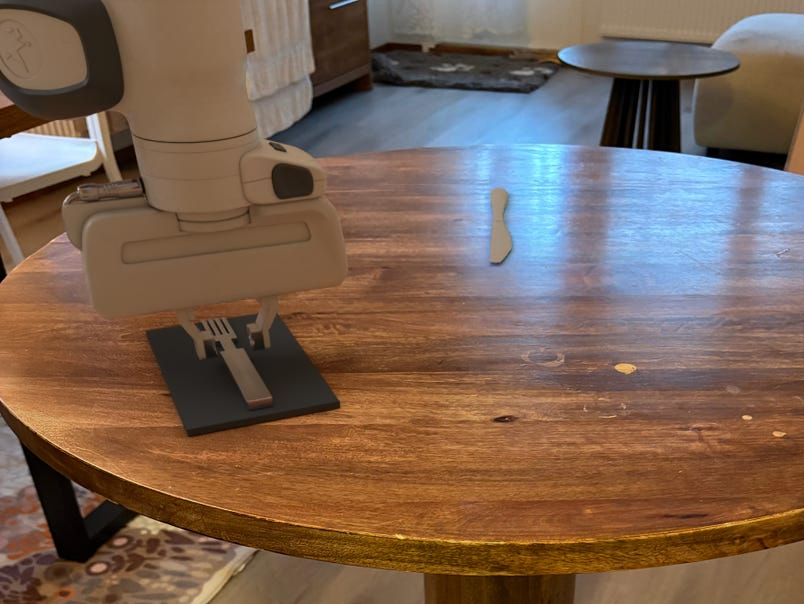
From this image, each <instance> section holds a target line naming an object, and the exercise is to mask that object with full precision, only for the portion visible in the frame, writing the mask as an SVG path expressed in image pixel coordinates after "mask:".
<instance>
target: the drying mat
mask: <svg viewBox="0 0 804 604" xmlns="http://www.w3.org/2000/svg"><path fill="white" fill-rule="evenodd" d="M258 314H259V312H258V313H252V314H245V315H238V316H232V317H225V318H226V319H227V321H228V323H229V324H230V326H231V328H232V330H233V331H234V333H235V335H236V336H237V339H238V343H233V344H234V345H235V347H236V349H240V348H244V350H245V352H246V353H247V355H248V357H249V359H250V360H251V362H252V364H253V365H254V367H255V369H256V371H257V372H258V374H259V376H260V377H261V379H262V381H263V382H264V384H265V386H266V388H267V389H268V391H269V393H270V394H271V396H272V398H273V404H274V405H273V406H272V407H267V408H261V409H256V410H250V411H249V410H248V408H247V406H246V405H245V403H244V401H243V399H242V397H241V395H240V393H239V391H238V390H237V388H236V386H235V384H234V382H233V380H232V378H231V376H230V375H229V373H228V371H227V369H226V367H225V365H224V363H223V361H222V359H221V354H220V352H221V351H223V350H222V348H221V346H216V347H215V348H216V350H217V355H218V357H213V358H208V359H203V360H200V359H199V357H198V355H197V352H196V348H195V343H194V339H193V338H192V337H191V336H190V335H189V334H188V333H187V331H186V330H185V329H184V328H183V327H182V326H181V325H180V324H178V325H173V326H167V327H166V326H165V327H160V328H153V329H146V330H145V331H144V333H145V336H146V339H147V341H148V344H149V346H150V349H151V351H152V352H153V357H154V358H155V361H156V363H157V365H158V368H159V370H160V372H161V375H162V377H163V380H164V382H165V384H166V387H167V390H168V392H169V395H170V397H171V399H172V402H173V404H174V406H175V408H176V411H177V414H178V416H179V418H180V421H181V423H182V426H183V428H184V430H185V433H186V435H187V437H193V436H197V435H204V434H208V433H213V432H219V431H224V430H230V429H235V428H241V427H245V426H251V425H255V424H256V425H257V424H262V423H266V422H271V421H277V420H282V419H287V418H293V417H298V416H303V415H308V414H313V413H319V412H324V411H329V410H335V409H340V408H341V401H340V400H339V397H338V396H337V395H336V394H335V392H334V391H333V389H332V388H331V386H330V385H329V384H328V382H327V380H326V379H324V377H323V375H322V374H321V372H320V371H319V369H318V368H317V367H316V366H315V365H316V364H314V362H313V361H312V360H311V359H310V357H309V356H308V354H307V352H306V351H305V349H304V348H303V347H302V345H301V344H300V342H299V341H298V340H297V339H296V337H295V336H294V334H293V333H292V332H291V330H290V328H288V326H287V325H286V323H285V322H284V321H283V319H282V318H281V316H280V315H279V313H278V312H277V313H276V316H275V318H274V320H273V323H272V325H271V327H270V329H268V331H269V338H270V344H271V348H269V349H263V350H257V351H253V350H252V348H251V346H250V343H249V339H248V337H249V334H248V332H247V326H246V324H251V323H256V319H257V317H258ZM212 320H213V322H214V324H215V320H214V319H212ZM219 320H220V321H221V318H219ZM206 322H207V324H208V320H206ZM193 323H194V324H195V326H196V327H197V328H198V329H199V330H200V331H205V330H204V328H203V326H202V323H201V321H199V322H193ZM221 323H222V321H221ZM215 325H216V324H215ZM222 325H223V324H222ZM208 326H209V324H208ZM216 327H217V326H216ZM223 327H224V325H223ZM209 328H210V326H209ZM224 328H225V327H224ZM217 329H218V327H217ZM210 330H211V328H210ZM225 330H226V329H225ZM211 331H212V330H211ZM218 331H219V329H218ZM226 332H227V331H226ZM212 333H213V332H212ZM219 333H220V331H219ZM220 334H221V333H220ZM227 334H228V332H227ZM213 335H214V333H213ZM214 336H215V335H214Z"/></svg>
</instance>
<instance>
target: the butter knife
mask: <svg viewBox="0 0 804 604" xmlns="http://www.w3.org/2000/svg"><path fill="white" fill-rule="evenodd" d="M489 195H490V196H489V200H490V205H491V211H492V223H491V224H492V225H491V231H490V240H489V241H490V242H489V247H490V250H489V252H490V254H489V262H490V263H492V264H499V263H501V262H502V261H503V260H504V259H505V258H506V257H507V256H508V254H509V253H510V251H511V250H512V248H513V246H512V245H513V244H512V239H511V238H512V237H511V234H510V232H509V230H508V228H507V226H506V223H505V221H504V220H505V219H504V211H505V208H506V206H507V204H508V199H509V193H508V191H507V190H506V188H502V187H494V188H492V189H491V190H490V193H489Z"/></svg>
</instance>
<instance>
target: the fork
mask: <svg viewBox="0 0 804 604" xmlns="http://www.w3.org/2000/svg"><path fill="white" fill-rule="evenodd" d="M226 318H227V317H225V316H222V317H220V318H219V317H216V318H214V319H212V318H208V319H207V320H206V319H202V320H200V322H201V323H202V326H203V328H204V330H205V331H207V330H210V328H211V330H212V331H211V330H210V331H211V333H212V332H213V333H214V335H215V336H214V335H213V333H212V335H213V336H214V339H215V344H216V346H221V348H222V350H223V351H221V352H220V354H221V359H222V361H223V363H224V365H225V367H226V369H227V371H228V373H229V375H230V376H231V378H232V380H233V382H234V384H235V386H236V388H237V390H238V391H239V393H240V395H241V397H242V399H243V401H244V403H245V405H246V406H247V408H248V410H249V411H250V410H256V409H261V408H267V407H272V406H273V405H274V404H273V398H272V396H271V394H270V393H269V391H268V389H267V388H266V386H265V384H264V382H263V381H262V379H261V377H260V376H259V374H258V372H257V371H256V369H255V367H254V365H253V364H252V362H251V360H250V359H249V357H248V355H247V353H246V352H245V350H244V348H240V349H236V347H235V345H234V344H233V343H238V339H237V336H236V335H235V333H234V331H233V330H232V328H231V326H230V324H229V323H228V321H227V319H226ZM219 319H221V321H222V323H221V321H220V320H219ZM213 320H215V324H216V325H215V324H214V322H213ZM206 321H208V324H209V326H210V328H209V326H208V324H207V322H206ZM222 324H223V325H224V327H225V328H224V327H223V325H222ZM216 326H217V327H218V329H219V331H220V333H221V334H220V333H219V331H218V329H217V327H216ZM225 329H226V330H225ZM226 331H227V332H228V334H227V332H226Z"/></svg>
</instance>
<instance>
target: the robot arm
mask: <svg viewBox="0 0 804 604" xmlns="http://www.w3.org/2000/svg"><path fill="white" fill-rule="evenodd" d="M241 10H242V9H241V4H240V0H0V92H1V93H2V94H3V95H4V96H5V97H6V98H7V99H8V100H9V102H12V103H13V104H14V105H15V106H16V107H18V108H19V109H21V110H22V111H23V112H25V113H27V114H29V115H31V116H33V117H34V118H38V119H41V120H45V121H64V122H65V121H66V122H69V121H70V122H71V121H77V120H78V121H79V120H82V119H85V118H87V117H91V116H93V115H97V114H99V113H103V112H117V113H119V114H122V115H123V116H124V117H125V119H126V121H127V123H128V125H129V129H130V133H131V138H132V143H133V148H134V152H135V156H136V157H135V158H136V161H137V166H138V171H139V175H140V176H139V177H137V178H129V179H121V180H115V181H111V182H107V183H96V182H91V183H90V182H89V183H84V184H80V185H78V186H76V189H77V190H75V191H73V192H71V193H70V194H68V195H67V196H66V197H65V198H64V200H63V201H62V205H61V211H60V213H61V219H62V222H63V226H64V229H65V233H66V236H67V238H68V240H69V242H70V243H71V245H72V246H74V247H75V248H76V249H77V250H78V251H79V252H80V259H81V265H82V271H83V279H84V282H85V286H86V291H87V295H88V298H89V303H90V305H91V308H92V309H93V311H94V312H95V313H97V314H98V315H99V316H100V317H102V318H103V319H105V320H108V321H112V320H119V319H125V318H132V317H138V316H144V315H152V314H159V313H166V312H172V311H173V314H174V316H175V318H176V320H177V322H178V325H181V326H182V327H183V328H184V329H185V330H186V331H187V333H188V334H189V335H190V336H191V337H192V338H193V339H194V343H195V348H196V352H197V355H198V357H199V359H200V360H203V359H208V358H213V357H218V355H217V350H216V348H215V347H216V344H215V339H214V336H213V335H212V333H211V331H210V330H207V331H200V330H199V329H198V328H197V327H196V326H195V324H194V323H195V322H193V321H196V319H197V317H196V311H195V308H199V307H200V308H201V307H206V306H214V305H221V304H227V303H234V302H240V301H241V302H242V301H248V300H253V299H255V300H256V302H257V303H258V305H259V306H260V309H259V312H258V313H259V314H258V317H257V319H256V323H251V324H246V326H247V332H248V334H249V337H248V339H249V343H250V346H251V348H252V350H253V351H257V350H263V349H269V348H271V344H270V338H269V331H268V329H270V327H271V325H272V323H273V320H274V318H275V316H276V313H278V311H279V309H280V307H279V300H278V296H282V295H289V294H294V293H302V292H309V291H315V290H322V289H323V290H324V289H328V288H336V287H340V286H341V285H342V284H343V283H344V281H345V279H346V277H347V275H348V273H349V263H348V255H347V247H346V242H345V236H344V232H343V228H342V224H341V219H340V217H339V214H338V212H337V209H336V207H335V205H334V204H332V202H331V201H330V200H329V199H328V198H327V197H326V196H325V194H326V192H327V188H328V180H327V174H326V171H325V169H324V168H323V166H322V165H321V164H320V163H319V161H318V160H317V159H316V158H314V157H313V156H312V155H311V154H309V153H308V152H306V151H305V150H303V149H301V148H299V147H296V146H293V145H291V144H286V143H281V142H277V141H273V140H270V139H265V138H261V137H259V130H258V129H259V128H258V122H257V118H256V114H255V111H254V109H253V107H252V104H251V102H250V99H249V95H248V91H247V90H248V89H247V77H246V76H247V75H246V74H247V65H248V48H247V42H246V35H245V28H244V21H243V16H242V11H241ZM78 198H79V200H78V201H74V200H76V199H78Z"/></svg>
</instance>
